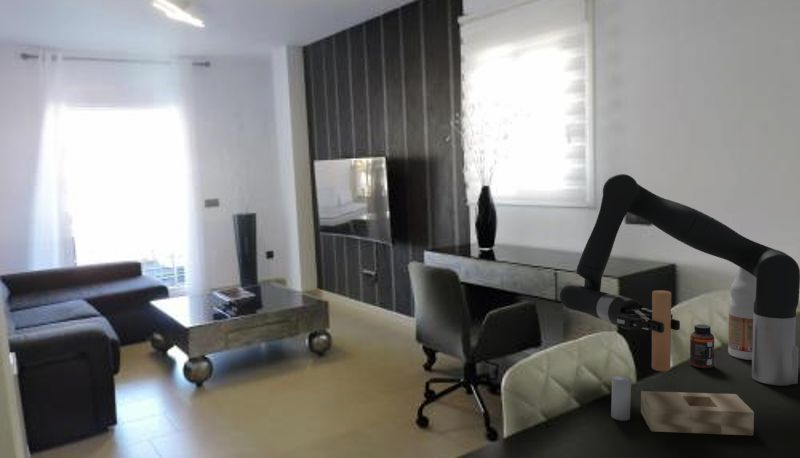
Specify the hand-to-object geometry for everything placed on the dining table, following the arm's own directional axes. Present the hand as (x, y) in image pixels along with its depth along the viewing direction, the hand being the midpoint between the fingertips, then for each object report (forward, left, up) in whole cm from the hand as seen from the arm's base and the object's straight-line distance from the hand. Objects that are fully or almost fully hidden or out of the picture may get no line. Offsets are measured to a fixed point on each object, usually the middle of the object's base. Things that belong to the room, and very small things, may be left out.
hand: (670, 326), depth 136 cm
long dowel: (+1, -2, -10) cm, 11 cm away
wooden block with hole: (-4, +6, -20) cm, 21 cm away
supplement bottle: (-16, -33, -20) cm, 42 cm away
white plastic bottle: (-31, -43, -20) cm, 57 cm away
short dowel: (+12, +4, -20) cm, 23 cm away
